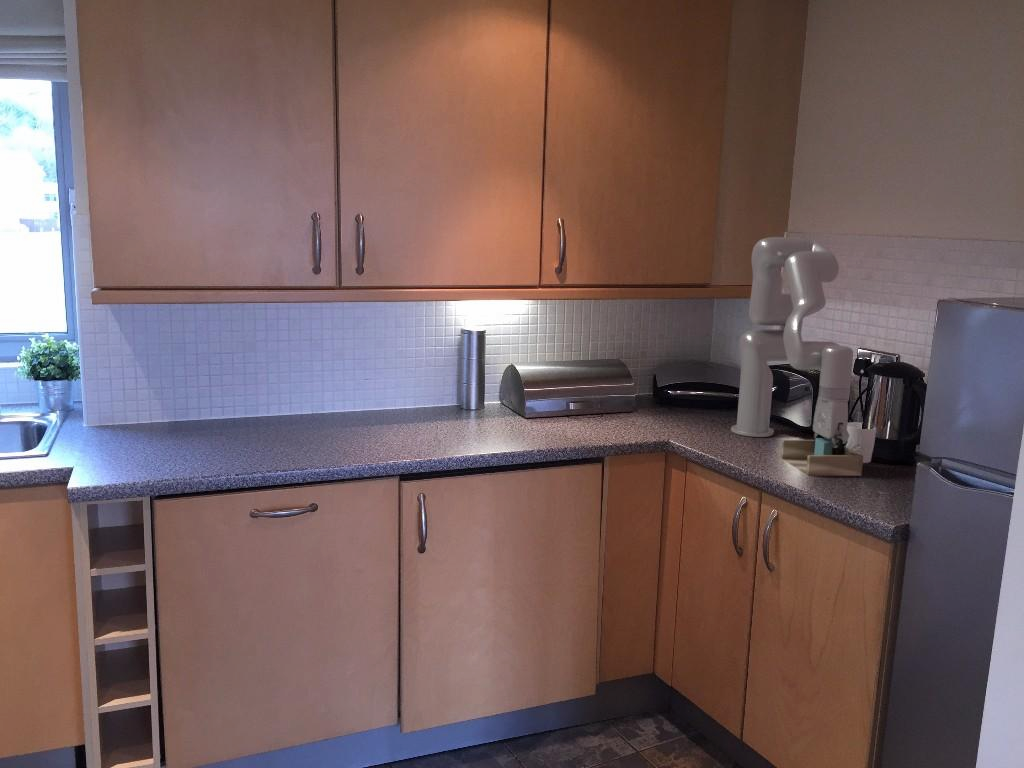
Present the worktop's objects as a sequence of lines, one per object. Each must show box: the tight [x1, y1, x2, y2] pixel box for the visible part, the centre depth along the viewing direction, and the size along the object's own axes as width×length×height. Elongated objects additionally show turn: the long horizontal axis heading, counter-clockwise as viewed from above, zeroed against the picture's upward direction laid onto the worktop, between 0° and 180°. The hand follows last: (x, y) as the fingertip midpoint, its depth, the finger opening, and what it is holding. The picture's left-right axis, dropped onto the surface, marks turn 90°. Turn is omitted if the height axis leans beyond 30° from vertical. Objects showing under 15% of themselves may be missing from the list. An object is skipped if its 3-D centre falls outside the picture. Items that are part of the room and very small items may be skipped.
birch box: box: [780, 439, 864, 477], centre depth 229 cm, size 17×14×6 cm
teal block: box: [814, 438, 839, 455], centre depth 229 cm, size 5×5×7 cm
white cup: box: [846, 421, 877, 464], centre depth 237 cm, size 8×8×10 cm
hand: (828, 457), depth 229 cm, fingers open, 9 cm apart
